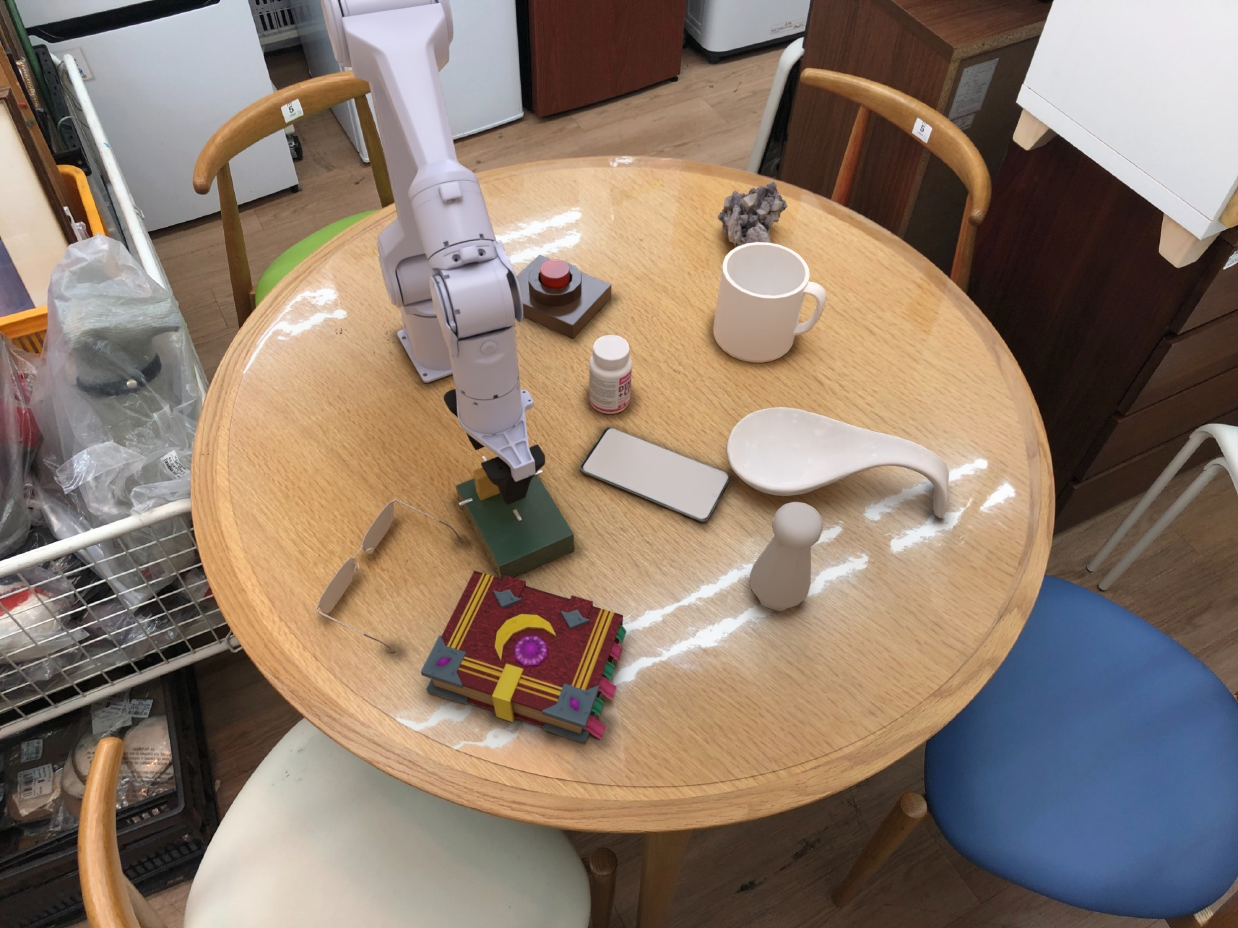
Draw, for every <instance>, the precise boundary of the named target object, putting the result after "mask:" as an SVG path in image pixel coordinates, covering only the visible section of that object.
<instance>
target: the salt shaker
mask: <svg viewBox="0 0 1238 928" xmlns="http://www.w3.org/2000/svg"><path fill="white" fill-rule="evenodd" d="M771 525H772V527H771V528H772V531H773V536H772V538H771V539H770V541H769V543H768V544H767V545H766V547H765V548H764V549H763V550H762V552H761V553H760V555H759V556H758V558H757V560H756V561H755V562H754V563H753V565H752V568H751V569H750V572H749V583H750V586H751V591H752V592H753V593H754V595H755V596H756V597H757V598H758V600H759V602H760V604H761V606H762V607H765V608H767V609H771V610H773V611H777V612H783V611H784V610H786V609H790V608H793V607H797V606H799V605H800V603H801V602H803V601H804V600H805V599H806V598H807V596H808V595H809V592H810V588H811V584H812V547H814V545H816V544H817V543H818V542H819V541H820V538H821V536H822V532H823V527H824V522H823V519H822V515H821V513H820V512H818V511H817V510H816V508H815V507H813V506H811V505H810V504H808V503H806V502H801V501H791V502H788V503H784V504H783V505H782V506H781V507H779V508H778V509H777V511H776V512H775V514H774V517H773V520H772V524H771Z"/></svg>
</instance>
